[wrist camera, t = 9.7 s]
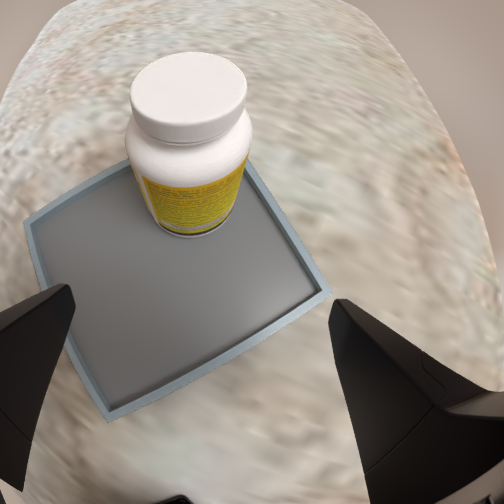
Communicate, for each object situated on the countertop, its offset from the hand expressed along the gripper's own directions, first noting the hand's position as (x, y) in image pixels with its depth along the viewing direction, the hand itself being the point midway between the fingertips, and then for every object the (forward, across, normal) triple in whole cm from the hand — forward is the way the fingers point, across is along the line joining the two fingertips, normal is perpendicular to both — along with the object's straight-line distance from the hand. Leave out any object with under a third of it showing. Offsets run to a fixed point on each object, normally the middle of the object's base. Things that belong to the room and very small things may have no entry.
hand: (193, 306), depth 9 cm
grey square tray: (+12, +4, +6) cm, 14 cm away
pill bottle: (+13, +2, 0) cm, 13 cm away
